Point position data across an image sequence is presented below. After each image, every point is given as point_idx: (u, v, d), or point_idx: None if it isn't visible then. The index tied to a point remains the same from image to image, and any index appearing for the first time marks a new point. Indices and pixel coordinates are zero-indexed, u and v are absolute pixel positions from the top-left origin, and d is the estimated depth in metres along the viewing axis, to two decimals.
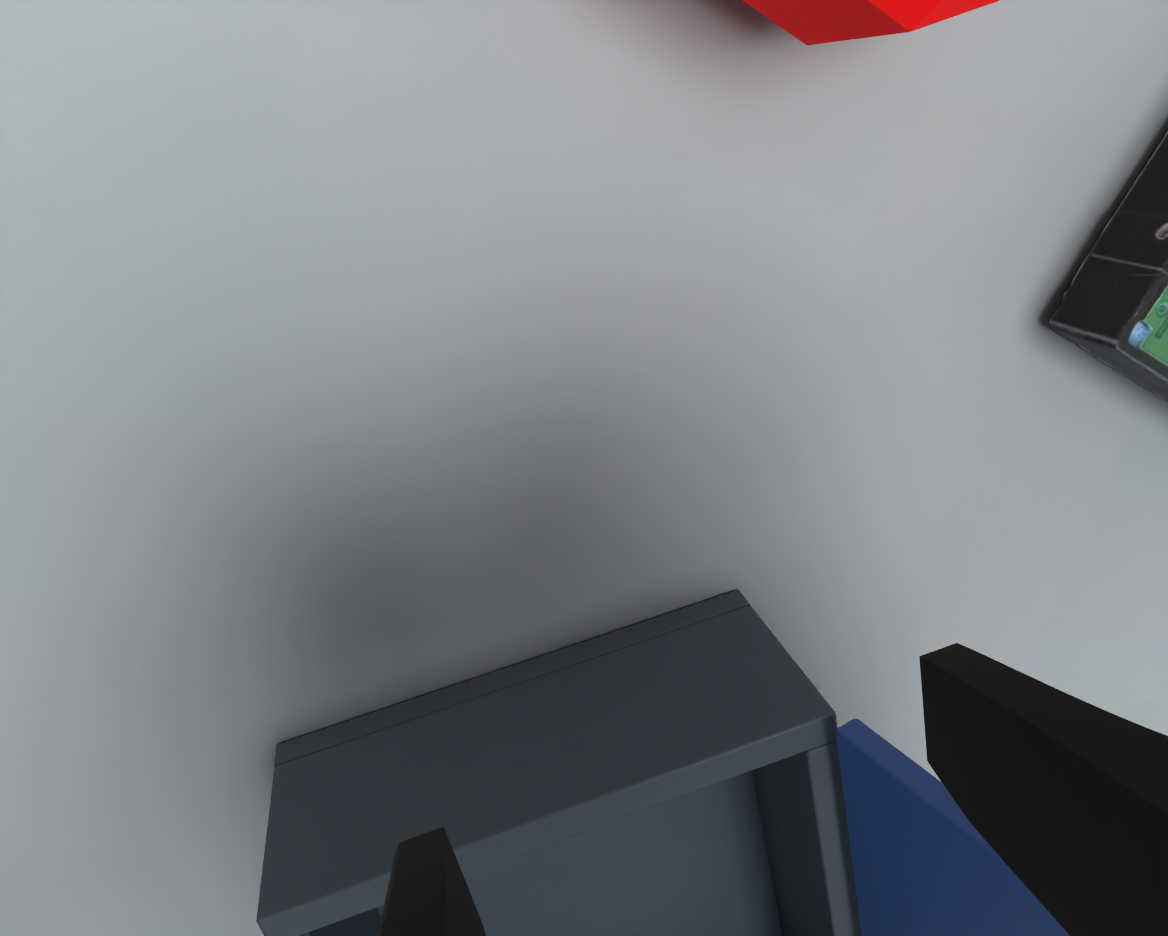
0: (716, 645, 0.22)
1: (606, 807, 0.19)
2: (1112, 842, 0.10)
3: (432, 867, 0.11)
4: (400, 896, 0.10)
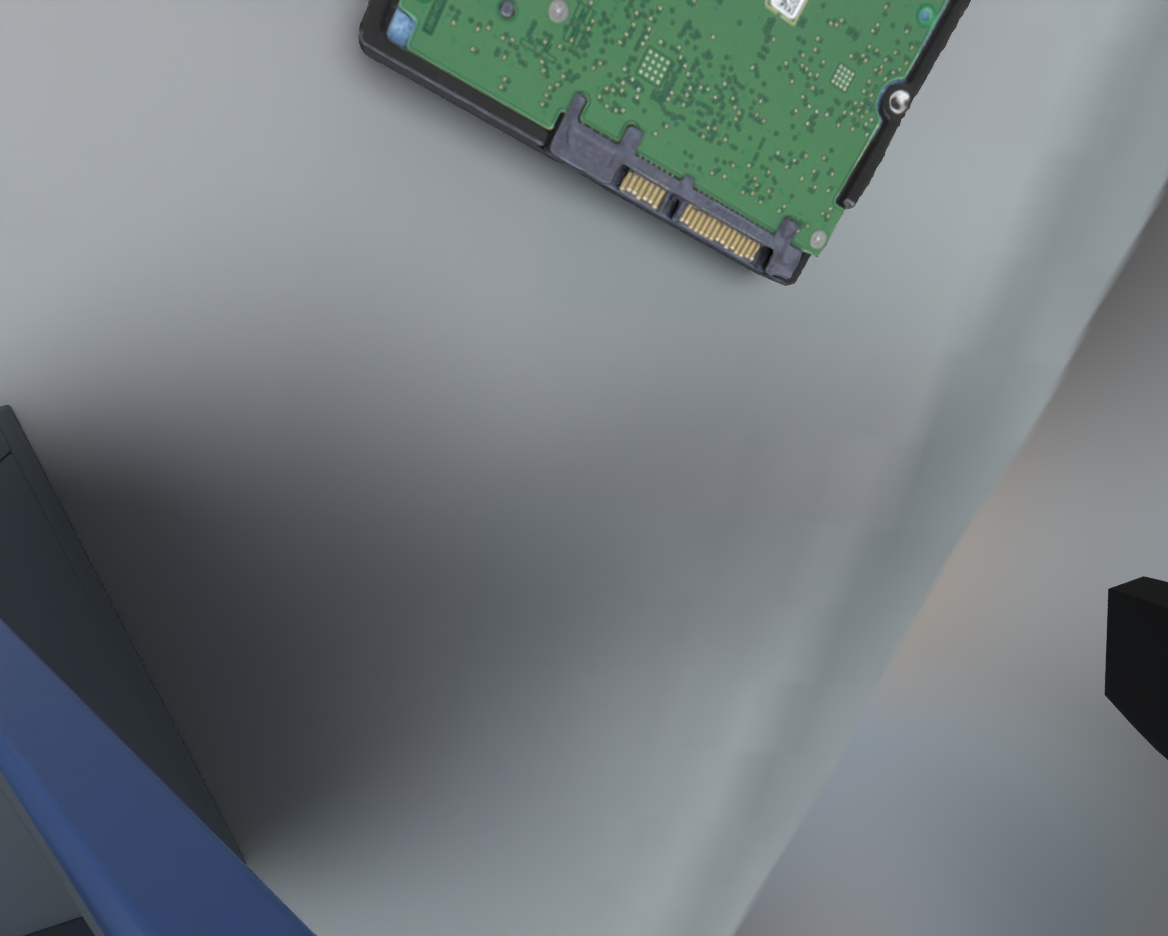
0: None
1: None
2: None
3: None
4: None
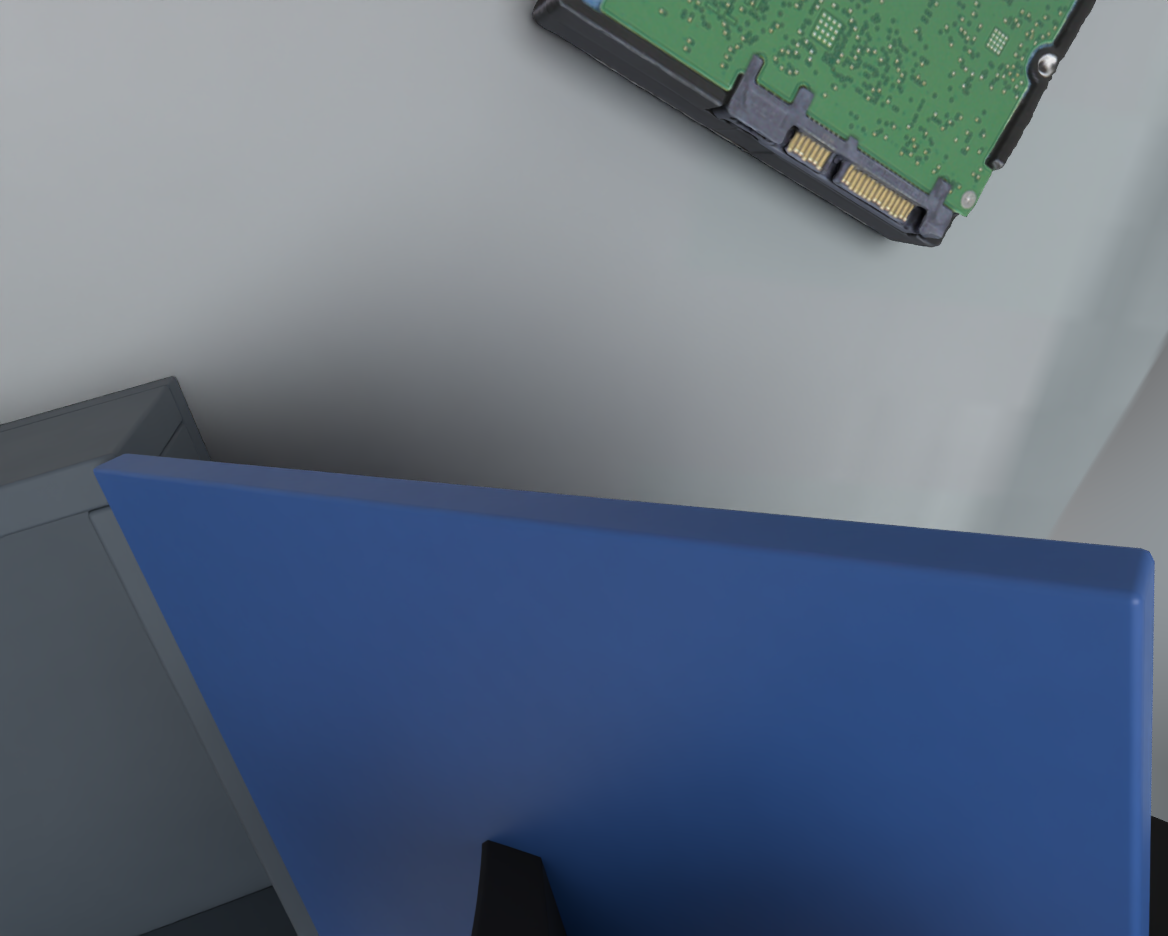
0: (80, 419, 0.17)
1: None
2: None
3: None
4: (497, 861, 0.11)
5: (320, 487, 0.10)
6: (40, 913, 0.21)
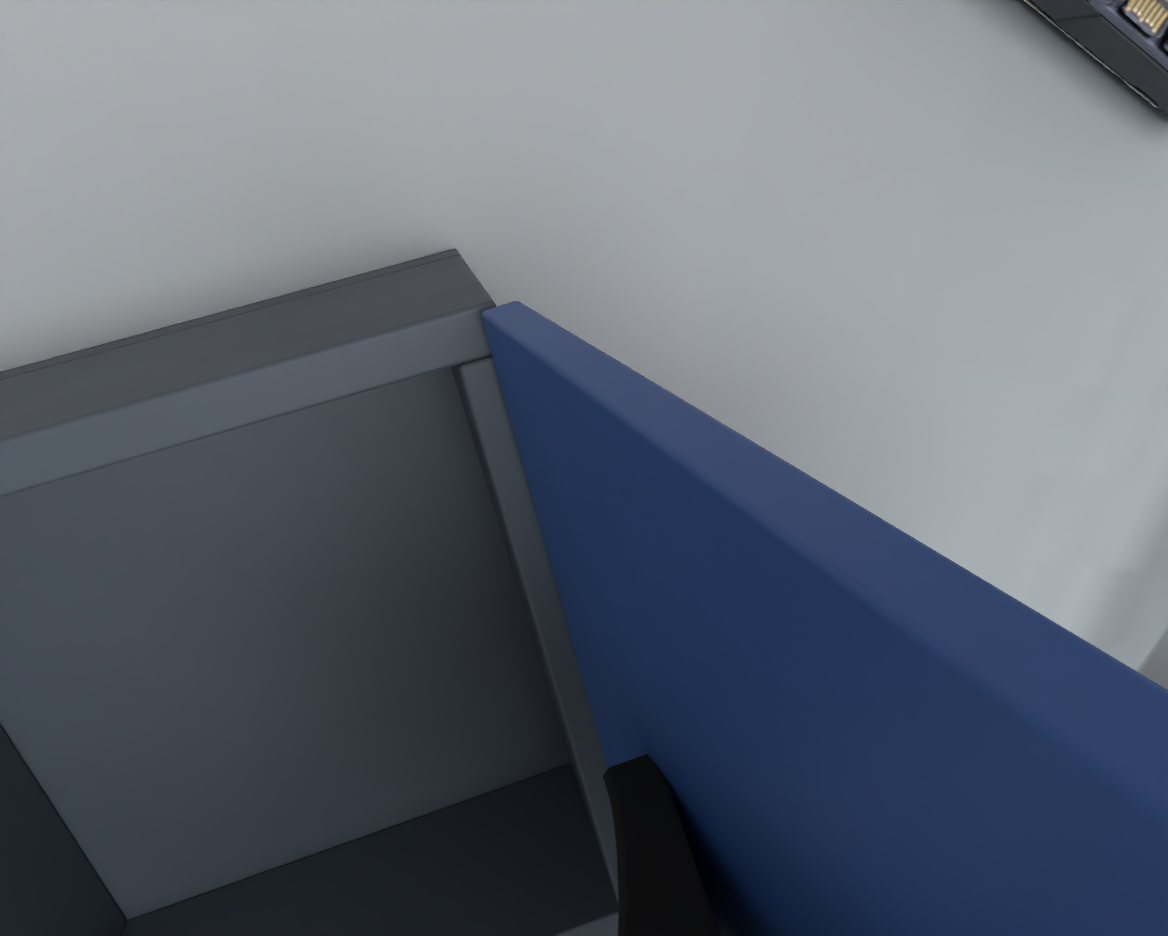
0: (391, 284, 0.16)
1: (135, 425, 0.12)
2: None
3: (655, 786, 0.11)
4: (631, 812, 0.11)
5: (645, 412, 0.08)
6: (284, 807, 0.21)
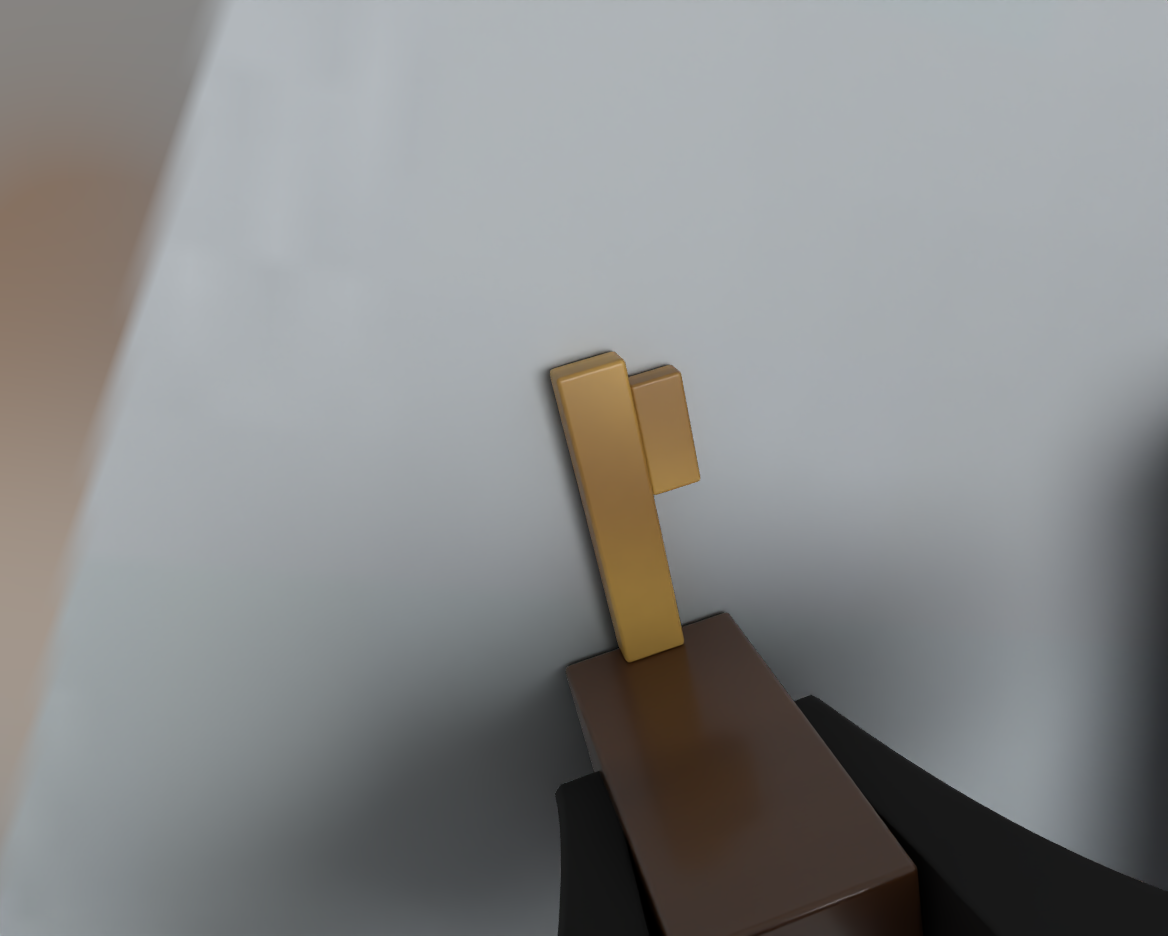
0: None
1: None
2: (926, 916, 0.09)
3: (603, 805, 0.11)
4: (577, 831, 0.11)
5: None
6: None
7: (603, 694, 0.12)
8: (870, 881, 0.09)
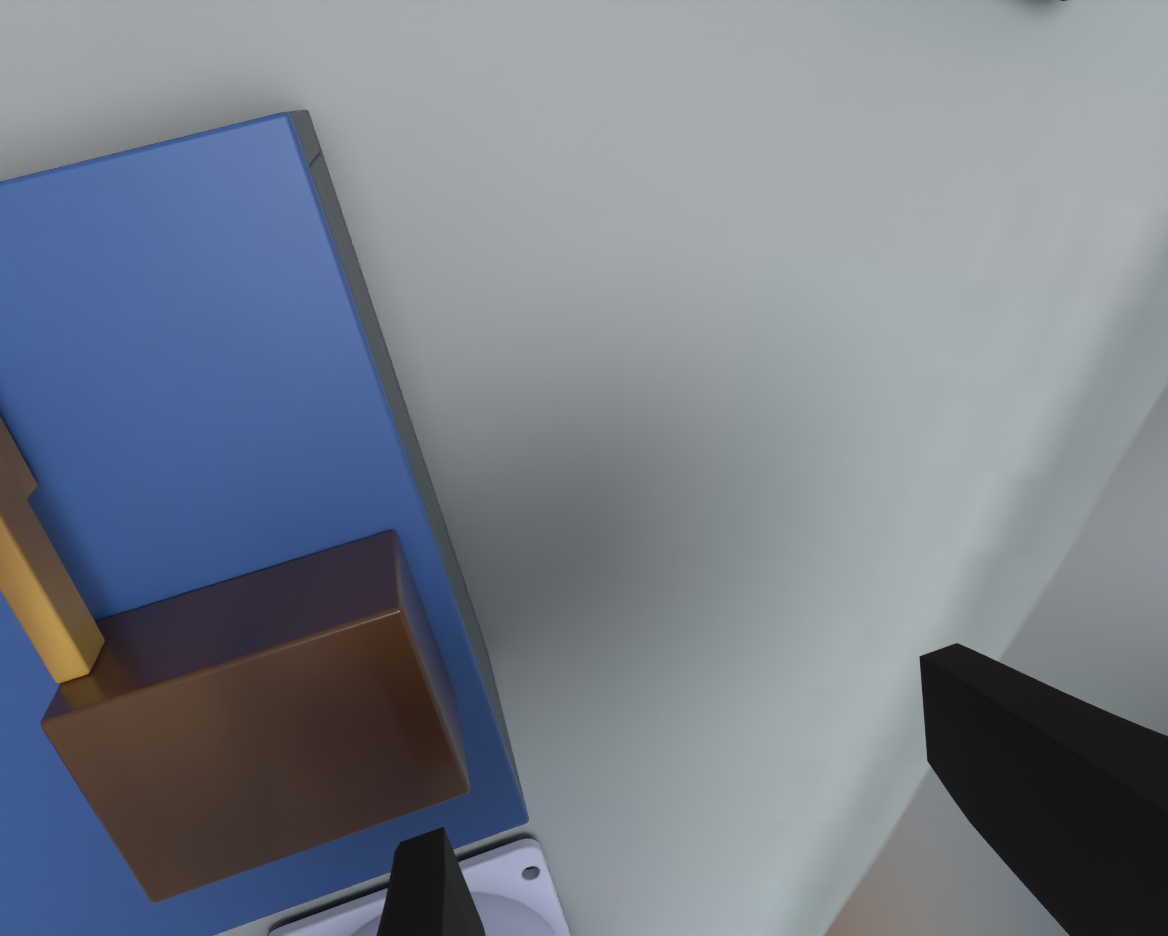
0: None
1: None
2: (1112, 842, 0.10)
3: (432, 867, 0.11)
4: (400, 896, 0.10)
5: None
6: None
7: (113, 685, 0.12)
8: (392, 544, 0.14)
